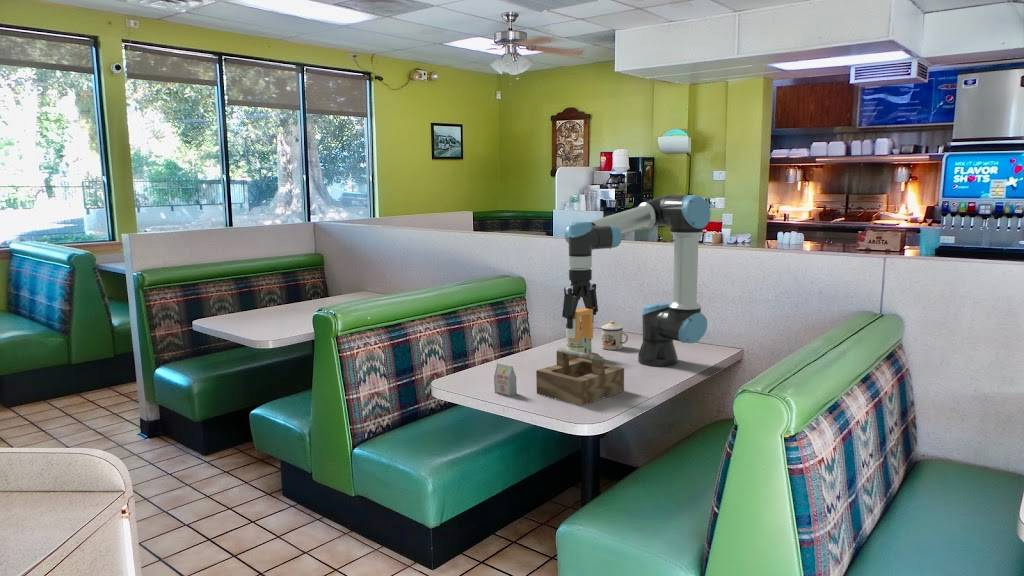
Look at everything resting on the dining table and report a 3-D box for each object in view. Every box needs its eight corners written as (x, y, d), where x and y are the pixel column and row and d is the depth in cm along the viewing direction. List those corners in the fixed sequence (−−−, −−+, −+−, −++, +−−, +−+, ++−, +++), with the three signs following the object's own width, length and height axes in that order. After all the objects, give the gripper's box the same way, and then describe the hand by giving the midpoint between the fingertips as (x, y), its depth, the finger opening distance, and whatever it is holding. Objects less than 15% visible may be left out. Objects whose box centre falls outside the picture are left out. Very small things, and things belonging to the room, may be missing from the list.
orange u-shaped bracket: (584, 336, 240) (583, 307, 239) (593, 338, 237) (592, 309, 236) (568, 340, 235) (568, 311, 233) (577, 342, 232) (577, 312, 230)
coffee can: (566, 355, 288) (565, 321, 286) (591, 355, 287) (591, 321, 285) (565, 361, 278) (565, 327, 276) (592, 361, 277) (591, 327, 275)
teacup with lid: (597, 348, 298) (597, 321, 296) (607, 344, 305) (607, 318, 303) (622, 352, 291) (622, 324, 289) (632, 347, 298) (632, 320, 296)
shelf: (579, 379, 253) (579, 341, 251) (624, 390, 239) (624, 350, 237) (536, 393, 239) (535, 353, 236) (581, 406, 224) (580, 363, 222)
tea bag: (501, 390, 243) (501, 362, 242) (516, 393, 239) (515, 365, 237) (494, 392, 241) (493, 364, 239) (509, 396, 236) (508, 367, 235)
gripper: (592, 264, 242) (592, 329, 245) (550, 270, 228) (551, 339, 231) (609, 266, 237) (609, 332, 240) (567, 272, 223) (567, 342, 226)
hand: (580, 335), depth 236 cm, fingers closed on orange u-shaped bracket, 8 cm apart
